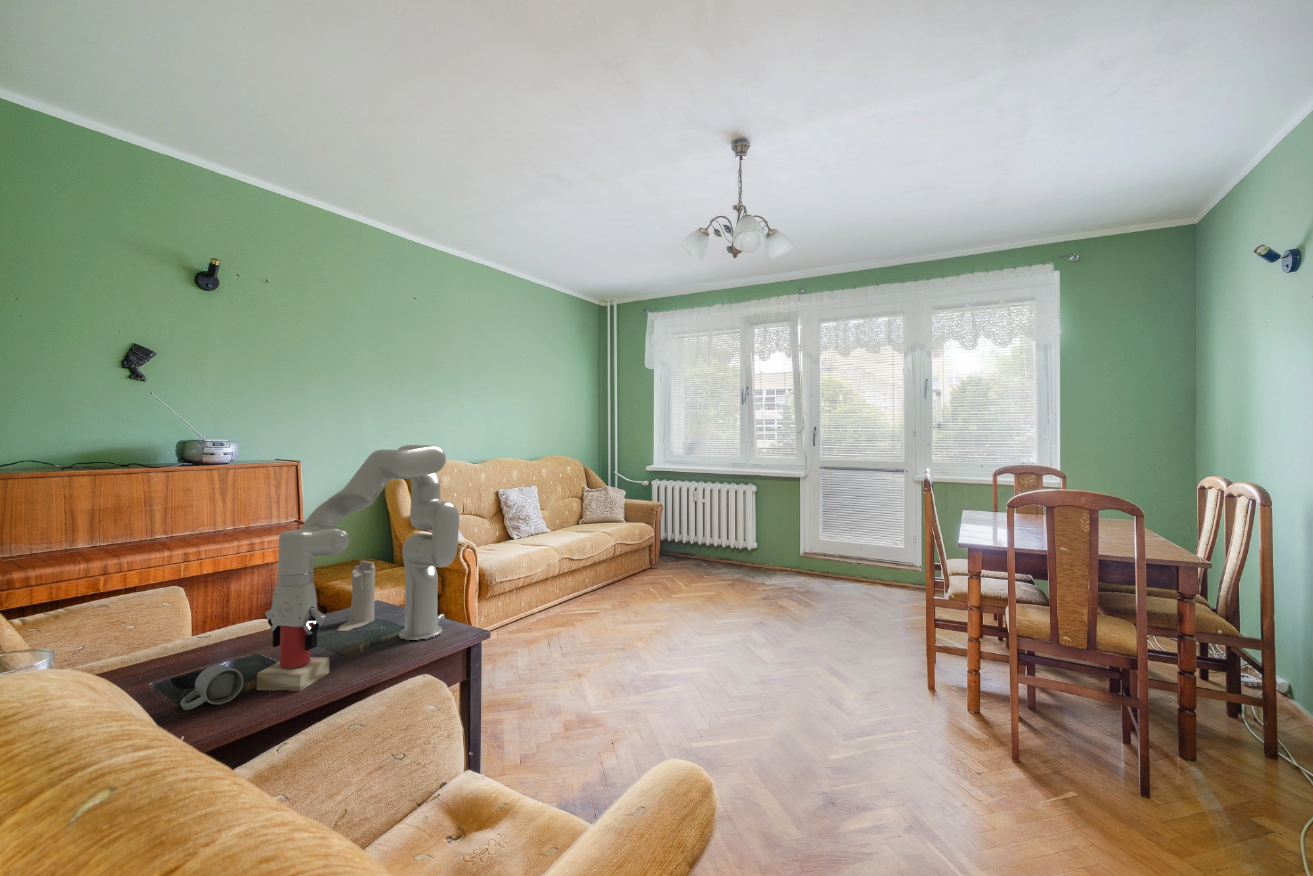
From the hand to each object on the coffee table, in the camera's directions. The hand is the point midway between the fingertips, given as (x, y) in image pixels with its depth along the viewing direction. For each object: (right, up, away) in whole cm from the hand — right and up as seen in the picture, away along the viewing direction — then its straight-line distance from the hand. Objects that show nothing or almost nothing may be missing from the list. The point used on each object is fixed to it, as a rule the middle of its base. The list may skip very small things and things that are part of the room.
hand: (294, 646), depth 141 cm
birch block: (0, -9, 0) cm, 9 cm away
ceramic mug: (-12, -9, -11) cm, 19 cm away
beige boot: (-8, -9, +44) cm, 46 cm away
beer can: (0, -5, 0) cm, 5 cm away
